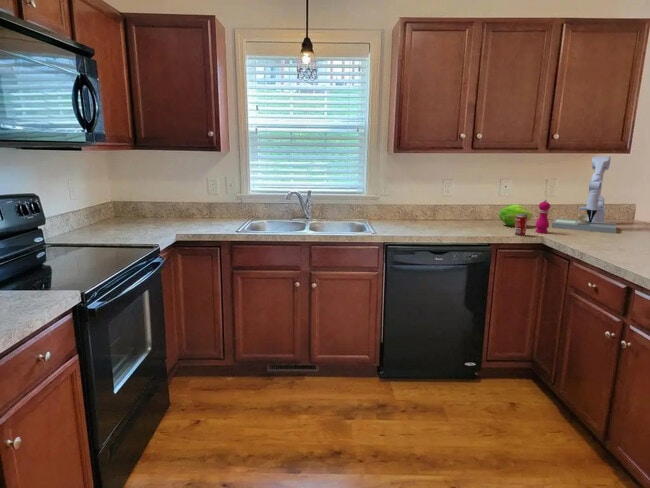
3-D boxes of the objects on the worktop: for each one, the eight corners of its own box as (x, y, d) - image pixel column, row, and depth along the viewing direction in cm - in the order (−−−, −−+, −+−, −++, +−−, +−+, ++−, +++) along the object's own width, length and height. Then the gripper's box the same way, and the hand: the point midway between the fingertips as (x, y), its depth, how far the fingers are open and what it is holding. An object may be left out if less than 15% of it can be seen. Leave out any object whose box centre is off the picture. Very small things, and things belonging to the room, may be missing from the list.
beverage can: (518, 233, 252) (520, 213, 249) (527, 235, 247) (529, 214, 244) (512, 234, 249) (514, 214, 246) (520, 236, 244) (522, 215, 241)
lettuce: (534, 229, 267) (533, 208, 262) (500, 231, 275) (498, 212, 270) (532, 219, 280) (531, 200, 274) (499, 222, 287) (497, 203, 282)
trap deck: (615, 227, 271) (616, 223, 270) (615, 233, 253) (616, 228, 252) (555, 222, 289) (556, 218, 288) (551, 227, 271) (552, 222, 271)
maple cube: (586, 222, 271) (587, 214, 270) (586, 223, 267) (587, 215, 266) (577, 221, 274) (578, 214, 273) (577, 223, 270) (578, 215, 269)
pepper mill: (537, 233, 252) (540, 199, 248) (533, 231, 259) (536, 198, 255) (550, 233, 251) (554, 200, 247) (545, 231, 258) (549, 198, 254)
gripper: (579, 200, 266) (576, 221, 269) (607, 202, 258) (603, 224, 261) (580, 199, 272) (577, 220, 275) (607, 200, 264) (603, 222, 267)
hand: (590, 222), depth 268 cm, fingers closed
